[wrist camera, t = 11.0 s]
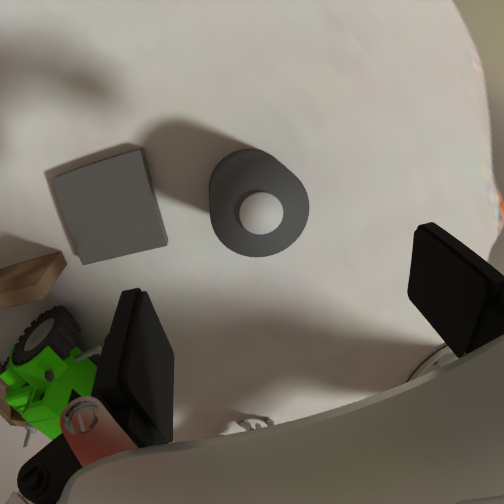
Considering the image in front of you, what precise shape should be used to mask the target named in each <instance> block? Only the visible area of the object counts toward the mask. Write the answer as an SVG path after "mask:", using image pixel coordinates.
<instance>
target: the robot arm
mask: <svg viewBox="0 0 504 504" xmlns="http://www.w3.org/2000/svg"><path fill="white" fill-rule="evenodd" d="M407 292H408V297H409V299H410V301H411V302H412V303H413V304H414V305H415V306H416V308H417V309H418V310H419V311H420V312H421V313H422V315H423V316H424V317H425V318H426V319H427V321H428V322H429V323H430V324H431V325H432V327H433V328H434V329H435V330H436V332H437V333H438V334H439V335H440V336H441V338H442V339H443V340H444V341H445V343H446V344H447V345H448V346H446V347H445V348H443V349H441V350H440V351H438V352H437V353H435V354H434V355H433V356H431V357H430V358H429V359H428V360H426V361H425V362H424V363H423V364H422V365H421V366H420V367H419V368H418V369H417V370H416V372H415V373H414V374H413V375H412V377H411V378H410V379H409V381H408V382H407V383H404V384H402V385H400V386H397V387H395V388H392V389H389V390H387V391H384V392H382V393H379V394H376V395H374V396H371V397H368V398H365V399H362V400H360V401H357V402H354V403H351V404H348V405H345V406H342V407H338V408H335V409H332V410H329V411H325V412H322V413H319V414H315V415H312V416H308V417H305V418H301V419H297V420H293V421H289V422H285V423H281V424H277V425H273V426H268V427H264V428H259V429H254V430H249V431H244V432H239V433H234V434H228V435H223V436H217V437H211V438H205V439H198V440H191V441H184V442H176V443H170V444H168V443H169V442H172V441H173V384H174V353H173V350H172V347H171V345H170V343H169V341H168V339H167V337H166V334H165V332H164V330H163V328H162V326H161V323H160V321H159V319H158V316H157V314H156V312H155V310H154V307H153V305H152V302H151V300H150V298H149V295H148V293H147V292H146V291H143V292H142V291H141V289H140V288H135V289H131V290H126V291H122V293H121V296H120V299H119V303H118V306H117V309H116V312H115V316H114V319H113V322H112V326H111V329H110V333H109V334H108V335H107V336H106V338H105V342H104V345H103V349H102V352H101V356H100V360H99V363H98V367H97V371H96V375H95V379H94V383H93V387H92V392H91V396H83V397H80V398H77V399H75V400H73V401H71V402H70V403H69V404H68V405H67V406H66V407H65V409H64V410H63V412H62V414H61V417H60V428H61V431H62V433H61V434H60V435H59V436H57V437H56V438H55V439H54V440H53V441H51V442H50V443H49V444H48V445H47V446H45V447H44V448H43V449H42V450H40V451H39V452H38V453H37V454H36V455H34V456H33V457H32V458H31V459H29V460H28V461H27V462H26V463H25V464H24V465H23V466H22V467H21V469H20V471H19V473H18V478H17V482H18V483H17V484H18V488H19V491H18V493H16V492H15V491H13V492H12V494H11V495H10V497H9V498H8V500H7V501H6V503H5V504H504V276H503V275H502V274H501V273H500V272H499V271H497V270H496V269H495V268H494V267H493V266H491V265H490V264H489V263H488V262H486V261H485V260H484V259H483V258H481V257H480V256H479V255H477V254H476V253H475V252H474V251H472V250H471V249H470V248H468V247H467V246H466V245H464V244H463V243H462V242H460V241H459V240H458V239H456V238H455V237H453V236H452V235H451V234H449V233H448V232H447V231H445V230H444V229H442V228H441V227H440V226H438V225H437V224H435V223H433V222H430V223H426V224H422V225H419V226H418V228H417V230H416V231H415V232H414V239H413V250H412V259H411V268H410V276H409V283H408V291H407Z"/></svg>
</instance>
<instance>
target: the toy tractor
mask: <svg viewBox="0 0 504 504" xmlns="http://www.w3.org/2000/svg"><path fill="white" fill-rule="evenodd" d="M31 325H32V326H31V327H30V328H28V327H27V328H26V329H25V330H24V332H25V334H24V335H21V336H20V337H19V341H20V342H19V343H16V344H14V346H13V348H12V351H11V353H10V357H8V358H7V361H5V362H4V365H3V366H2V368H3V369H1V374H0V378H1V379H2V380H3V381H4V382H6V383H7V384H8V386H9V389H8V388H6V389H5V394H6V397H5V399H4V400H5V401H6V402H7V403H8V404H9V405H10V406H12V408H14V409H15V410H16V411H17V412H19V413H20V414H21V415H22V417H23V418H24V419H25V420H26V424H25V429H26V430H27V434H26V438H25V442H24V446H23V447H26V446H27V445H28V441H29V439H30V436H31V433H36V430H37V429H38V430H39V431H41V432H42V433H43V434H45V435H46V436H48V437H49V438H50V439H52V440H54V439H55V438H56V437H57V436H59V435H60V434H61V433H62V431H61V428H60V417H61V414H62V412H63V410H64V409H65V407H66V406H67V405H68V404H69V403H70V402H71V401H73V400H75V399H77V398H80V397H83V396H91V392H92V387H93V383H94V379H95V375H96V371H97V366H96V365H95V364H94V363H93V362H92V361H91V360H90V359H89V358H88V357H90V356H92V355H95V354H97V353H98V354H99V355H100V356H101V352H102V348H101V347H100V346H99V345H98V346H96V347H94V348H92V349H90V350H87V351H85V352H82V351H81V350H80V349H79V348H78V347H77V346H76V345H77V343H76V341H77V340H79V338H80V334H79V332H81V329H80V327H79V325H78V324H77V323H76V322H75V320H74V319H73V318H72V317H71V316H70V315H69V313H68V312H67V311H66V310H65V309H64V307H62V306H58V308H57V307H56V306H55V307H53V308H52V310H48V311H46V312H45V314H44V315H43V314H41V315H39V316H38V320H37V321H35V320H34V321H33V322H32V323H31Z"/></svg>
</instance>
